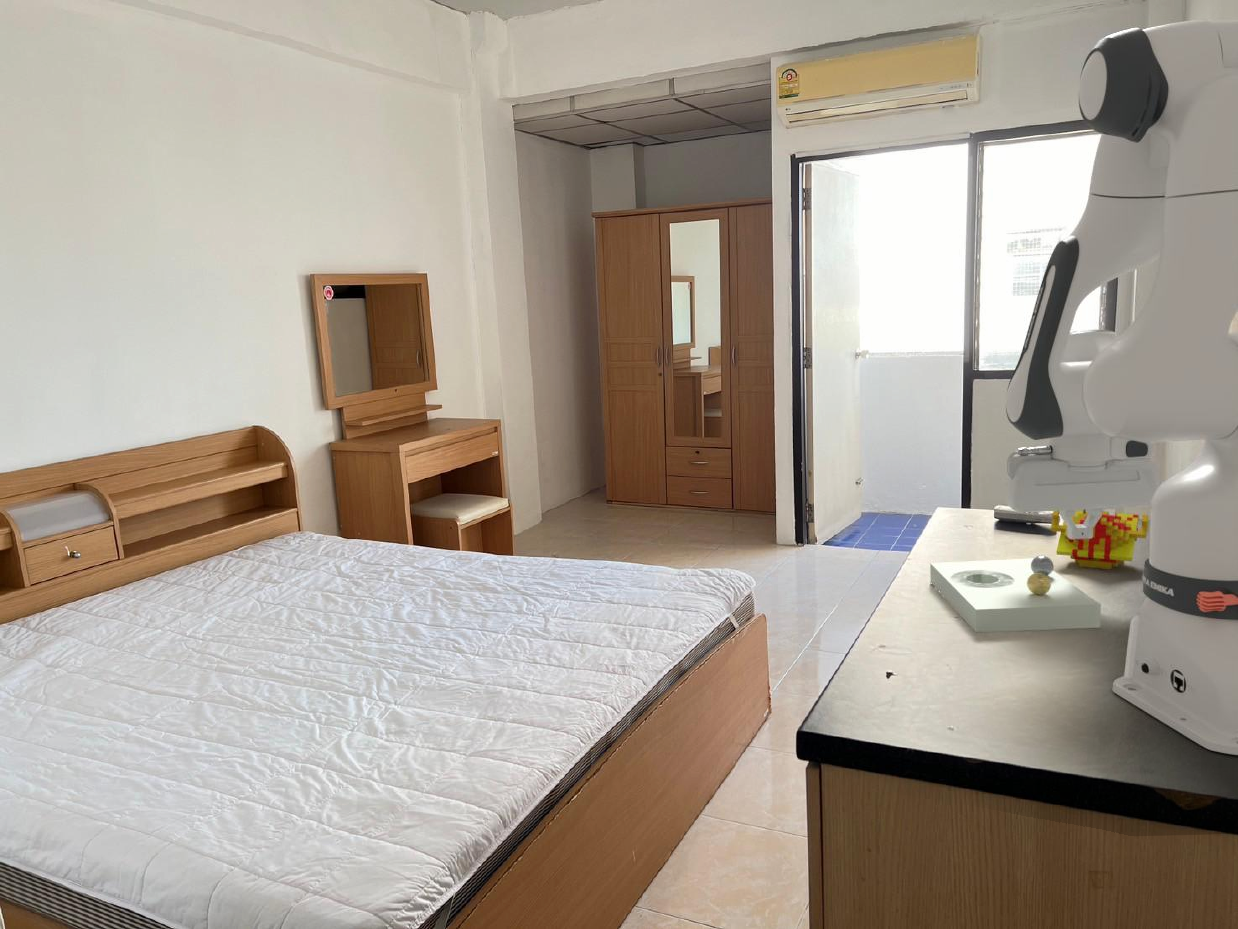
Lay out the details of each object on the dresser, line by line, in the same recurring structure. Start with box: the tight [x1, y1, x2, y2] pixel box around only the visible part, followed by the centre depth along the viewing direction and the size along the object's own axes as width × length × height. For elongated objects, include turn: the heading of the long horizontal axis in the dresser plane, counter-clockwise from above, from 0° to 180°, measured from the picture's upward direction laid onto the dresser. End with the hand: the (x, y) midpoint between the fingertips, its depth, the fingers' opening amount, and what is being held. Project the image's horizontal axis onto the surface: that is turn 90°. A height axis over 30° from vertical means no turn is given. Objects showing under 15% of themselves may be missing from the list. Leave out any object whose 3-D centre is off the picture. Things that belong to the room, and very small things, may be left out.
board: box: [929, 557, 1102, 634], centre depth 131 cm, size 22×16×3 cm
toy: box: [1050, 508, 1150, 570], centre depth 144 cm, size 14×10×15 cm
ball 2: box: [1027, 573, 1051, 595], centre depth 124 cm, size 3×3×3 cm
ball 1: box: [1031, 555, 1054, 576], centre depth 132 cm, size 3×3×3 cm
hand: (1079, 538), depth 131 cm, fingers closed
